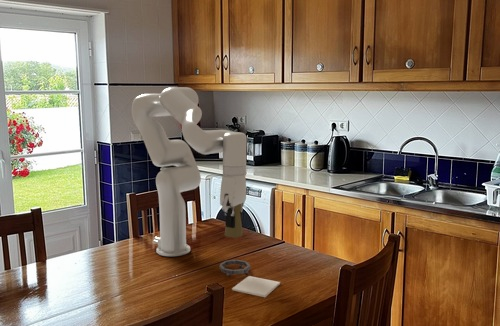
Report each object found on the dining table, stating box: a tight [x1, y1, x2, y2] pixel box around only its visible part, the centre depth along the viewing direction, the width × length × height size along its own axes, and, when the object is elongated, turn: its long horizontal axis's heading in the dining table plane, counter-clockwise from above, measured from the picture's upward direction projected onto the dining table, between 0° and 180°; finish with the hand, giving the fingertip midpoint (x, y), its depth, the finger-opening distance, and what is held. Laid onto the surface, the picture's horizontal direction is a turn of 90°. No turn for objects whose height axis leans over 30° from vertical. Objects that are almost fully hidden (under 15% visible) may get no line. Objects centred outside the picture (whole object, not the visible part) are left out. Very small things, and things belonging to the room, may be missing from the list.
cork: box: [224, 204, 244, 238], centre depth 157 cm, size 6×6×11 cm
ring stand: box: [219, 259, 251, 278], centre depth 159 cm, size 10×10×2 cm
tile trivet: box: [231, 275, 281, 298], centre depth 147 cm, size 11×11×1 cm
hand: (233, 224), depth 157 cm, fingers closed on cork, 4 cm apart
